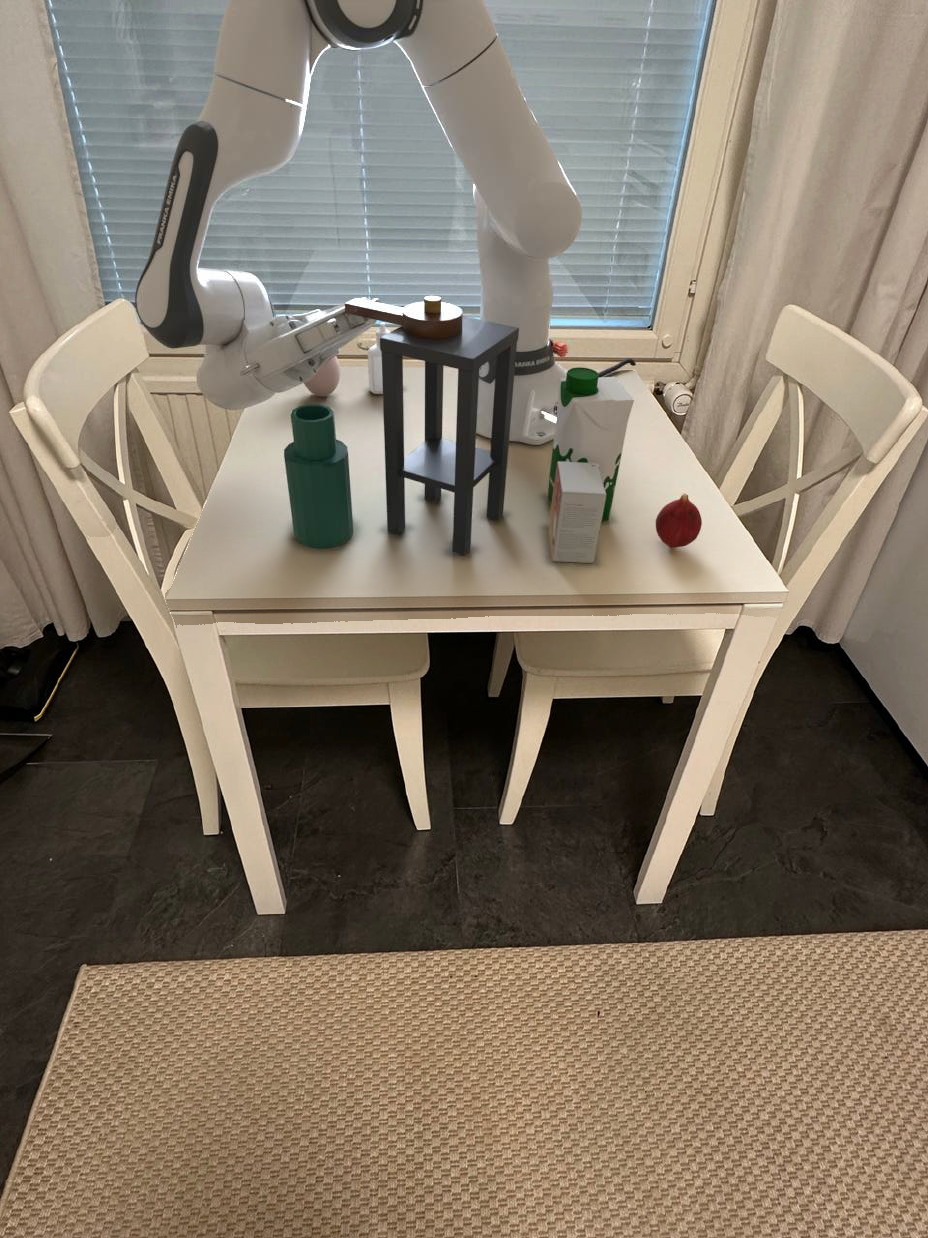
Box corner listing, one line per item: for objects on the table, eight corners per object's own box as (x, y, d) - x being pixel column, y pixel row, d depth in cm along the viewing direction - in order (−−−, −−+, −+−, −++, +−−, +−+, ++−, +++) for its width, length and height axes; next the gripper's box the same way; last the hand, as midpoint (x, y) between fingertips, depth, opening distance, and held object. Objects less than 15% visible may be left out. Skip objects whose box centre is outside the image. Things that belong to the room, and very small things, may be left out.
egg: (349, 395, 136) (346, 341, 130) (320, 406, 132) (315, 351, 126) (324, 384, 139) (320, 331, 133) (295, 395, 135) (289, 340, 129)
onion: (702, 556, 100) (717, 504, 95) (663, 562, 99) (677, 509, 94) (680, 532, 105) (694, 481, 99) (643, 538, 103) (654, 486, 98)
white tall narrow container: (399, 395, 137) (398, 328, 129) (368, 394, 137) (365, 327, 129) (400, 385, 140) (399, 319, 132) (370, 384, 140) (367, 318, 132)
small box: (547, 528, 104) (556, 459, 97) (588, 530, 104) (599, 461, 97) (551, 562, 98) (560, 491, 91) (594, 564, 98) (607, 493, 91)
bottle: (338, 511, 106) (328, 394, 95) (363, 538, 101) (356, 418, 90) (285, 525, 102) (269, 406, 92) (308, 554, 97) (294, 432, 87)
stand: (386, 531, 102) (379, 337, 86) (430, 492, 111) (431, 309, 94) (464, 556, 98) (473, 359, 82) (504, 514, 107) (519, 327, 90)
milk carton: (540, 494, 111) (555, 360, 98) (599, 491, 113) (622, 358, 100) (555, 527, 105) (574, 387, 92) (617, 523, 106) (645, 385, 93)
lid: (334, 318, 90) (332, 288, 88) (366, 302, 95) (365, 274, 93) (444, 343, 85) (444, 312, 83) (472, 325, 90) (473, 295, 88)
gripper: (219, 353, 93) (291, 313, 84) (319, 308, 107) (389, 270, 98) (246, 401, 95) (319, 367, 87) (340, 351, 109) (411, 317, 101)
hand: (357, 315), depth 93 cm, fingers open, 8 cm apart
